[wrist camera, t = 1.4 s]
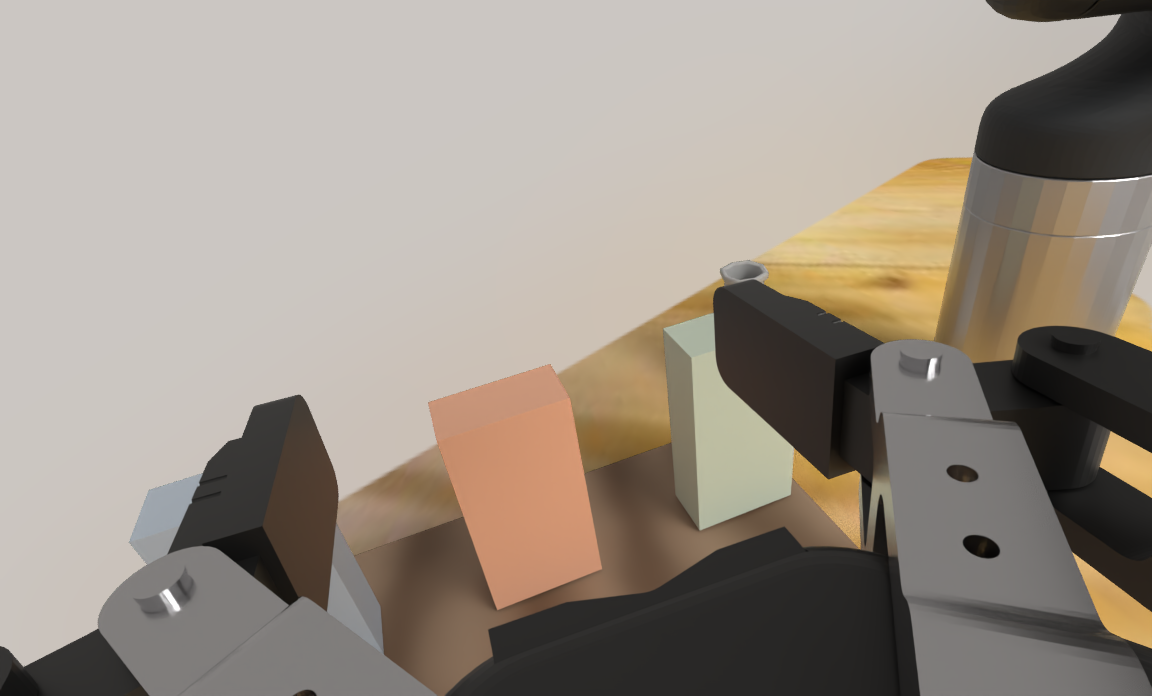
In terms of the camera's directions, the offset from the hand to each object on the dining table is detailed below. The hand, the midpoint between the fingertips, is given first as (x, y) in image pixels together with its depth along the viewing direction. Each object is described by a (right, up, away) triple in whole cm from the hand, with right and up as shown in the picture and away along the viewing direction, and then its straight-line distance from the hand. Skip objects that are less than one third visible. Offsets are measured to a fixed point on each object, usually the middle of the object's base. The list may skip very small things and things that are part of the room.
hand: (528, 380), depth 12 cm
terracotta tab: (-1, -12, +22) cm, 25 cm away
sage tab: (+10, -8, +25) cm, 28 cm away
